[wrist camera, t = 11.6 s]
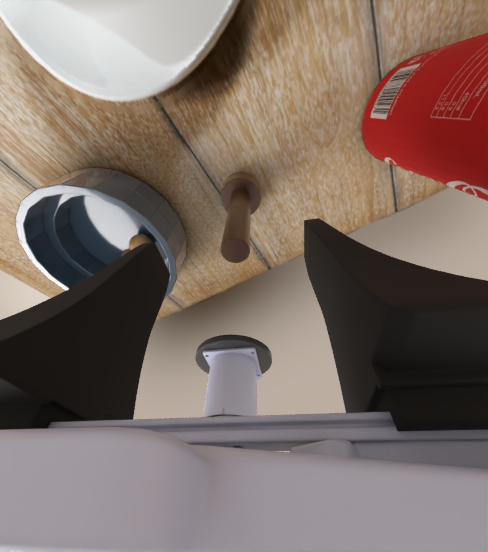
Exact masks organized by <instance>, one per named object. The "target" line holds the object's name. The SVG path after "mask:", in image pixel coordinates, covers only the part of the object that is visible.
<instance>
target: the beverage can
mask: <svg viewBox="0 0 488 552" xmlns="http://www.w3.org/2000/svg"><path fill="white" fill-rule="evenodd" d="M362 136H363V141H364V144H365V146H366V148H367V150H368V151H369V153H370V154H372V155H373V156H374V157H375V158H377V159H379V160H381V161H384V162H386V163H389V164H392V165H394V166H397V167H400V168H402V169H405V170H407V171H410V172H413V173H415V174H418V175H421V176H423V177H426V178H429V179H431V180H434V181H437V182H439V183H442V184H445V185H447V186H450V187H452V188H455V189H458V190H460V191H464V192H466V193H468V194H471V195H474V196H476V197H479V198H482V199H485V200H487V201H488V33H486V34H482V35H479V36H476V37H473V38H470V39H467V40H464V41H461V42H458V43H455V44H451V45H448V46H445V47H442V48H439V49H436V50H433V51H430V52H427V53H423V54H420V55H417V56H414V57H411V58H410V59H408V60H406V61H404V62H402V63H400V64H399V65H398V66H397V67H395V68H394V69H393V70H391V71H390V72H389V73H388V74H387V75H386V76H385V77H384V78H383V79H382V81H381V82H380V83H379V85H378V86H377V87H376V89H375V90H374V92H373V94H372V95H371V97H370V99H369V101H368V104H367V106H366V109H365V112H364V116H363V121H362Z"/></svg>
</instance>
